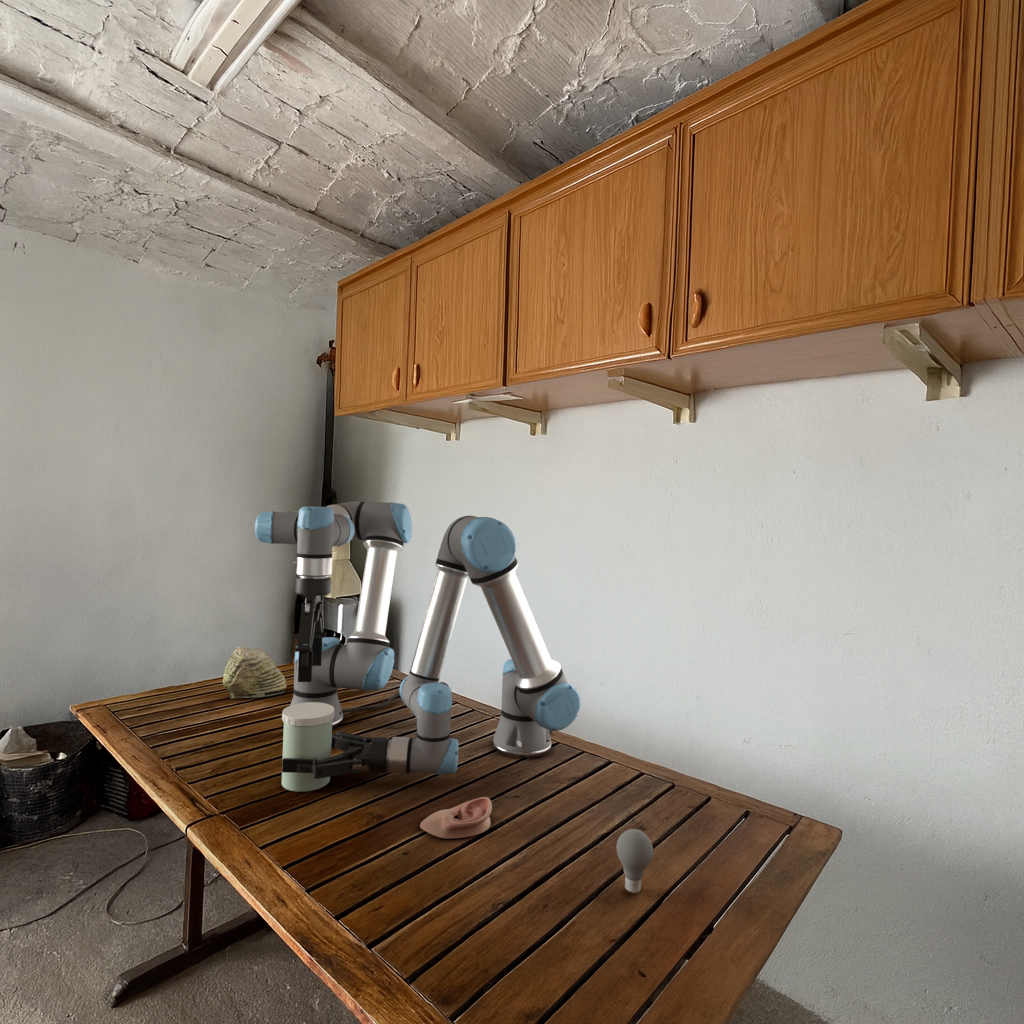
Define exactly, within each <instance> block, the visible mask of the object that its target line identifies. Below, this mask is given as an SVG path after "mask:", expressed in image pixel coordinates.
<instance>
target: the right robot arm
mask: <svg viewBox="0 0 1024 1024" xmlns="http://www.w3.org/2000/svg"><path fill="white" fill-rule="evenodd" d="M516 551H517V542H516V537H515V535H514V533H513V531H512V529H511V528H510V527H509V526H508V525H507V524H505V523H504V522H502V521H501V520H499V519H496V518H494V517H490V516H480V517H479V516H476V515H464V516H463V515H462V516H460V517H458V518H456V519H455V520H454V521H453V522H451V523H450V524H449V525H448V527H447V528H446V530H445V532H444V534H443V537H442V540H441V542H440V547H439V550H438V552H437V557H436V560H435V564H434V565H435V567H436V569H437V572H436V576H435V580H434V583H433V586H432V590H431V594H430V597H429V601H428V605H427V608H426V611H425V614H424V620H423V621H422V625H421V631H420V633H419V637H418V639H417V644H416V648H415V651H414V655H413V658H412V661H411V666H410V669H409V672H408V674H407V676H405V678H403V680H402V681H401V683H400V686H399V692H400V695H399V696H400V698H401V701H402V703H403V704H404V705H405V706H406V707H407V708H408V709H409V710H410V711H411V712H412V714H413V716H415V718H416V737H409V736H392V738H391V739H390V737H389V736H374V737H371V736H362V735H358V734H353V733H350V732H345V731H341V730H337V731H336V732H335V733H332V741H331V750H332V749H338V750H340V751H343V752H342V753H341V754H338V755H333V756H331V757H330V758H326V759H322V760H317V759H316V758H314V759H298V758H283V757H282V758H283V762H281V773H282V772H290V773H313V775H314V779H319V778H324V777H330V778H331V777H336V776H341V775H342V776H343V775H347V774H360V773H362V772H363V771H362V770H363V767H365V766H368V770H369V772H370V773H371V774H372V773H373V774H385V773H387V772H388V773H390V774H399V776H403V775H404V774H418V775H419V774H420V775H422V774H423V775H435V776H438V775H452V774H455V773H456V772H457V770H458V765H459V749H460V748H459V743H460V742H459V739H457V738H453V737H451V722H452V708H453V696H452V695H453V693H452V689H451V687H450V686H449V684H448V685H444V684H442V683H440V678H441V675H442V671H443V668H444V667H443V666H444V663H445V660H446V656H447V652H448V650H449V646H450V642H451V639H452V635H453V632H454V627H455V624H456V621H457V618H458V613H459V610H460V607H461V603H462V600H463V596H464V592H465V589H466V585H467V582H468V579H469V580H470V582H471V584H472V585H474V586H477V587H480V590H481V591H482V593H483V596H484V598H485V601H486V602H487V605H488V607H489V609H490V612H491V614H492V616H493V619H494V621H495V624H496V627H497V628H498V630H499V633H500V635H501V637H502V640H503V642H504V645H505V647H506V650H507V652H508V654H509V656H510V658H509V659H507V660H506V661H504V663H503V668H502V673H501V675H502V681H501V682H502V687H501V710H500V711H501V713H500V719H499V721H498V724H497V726H496V729H495V732H494V735H493V738H492V747H493V749H494V751H496V752H498V753H499V754H501V755H504V756H506V757H507V756H508V757H511V758H517V759H533V758H539V757H542V756H545V755H547V754H549V753H550V752H551V750H552V738H551V734H552V733H553V732H558V731H562V730H564V729H566V728H568V727H569V726H570V725H572V724H573V722H575V720H576V718H577V717H578V713H579V711H581V710H580V709H581V705H582V704H581V702H582V701H581V700H582V699H581V696H580V693H579V691H578V690H577V689H576V687H575V686H574V685H573V684H571V683H569V682H568V680H567V678H566V674H565V673H564V670H563V669H562V666H561V664H560V662H559V661H556V660H554V659H551V656H550V654H549V651H548V648H547V646H546V644H545V642H544V639H543V637H542V634H541V631H540V630H539V627H538V625H537V622H536V620H535V617H534V615H533V612H532V610H531V608H530V605H529V603H528V601H527V599H526V596H525V594H524V591H523V588H522V586H521V584H520V581H519V579H518V575H516V571H517V568H518V566H519V562H518V560H517V557H516V555H515V554H516Z"/></svg>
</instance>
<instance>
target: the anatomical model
mask: <svg viewBox="0 0 1024 1024" xmlns="http://www.w3.org/2000/svg"><path fill="white" fill-rule="evenodd" d="M492 804H493V803H492V800H491V799H490V798H489V797H487V796H482V797H478V798H474V799H471V800H467V801H465V802H463V803H460V804H459V805H458V804H457V805H456V806H454V807H451V808H446V809H441V810H437V811H435V812H433V813H431V814H430V815H428V816H427V817H426V818H424V819H423V820H422V821H421V822H420V824H419V827H420V829H421V830H423V831H424V832H425V833H428V834H430V835H432V836H434V837H437V838H441V839H446V840H448V839H451V840H453V839H461V838H462V839H463V838H468V837H469V838H470V837H473V836H477V835H480V834H482V833H484V832H486V831H488V829H490V827H491V817H490V816H491V814H492V811H493V805H492Z"/></svg>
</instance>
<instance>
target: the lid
mask: <svg viewBox="0 0 1024 1024" xmlns="http://www.w3.org/2000/svg"><path fill="white" fill-rule="evenodd" d="M334 716H335V711H334V707H333V706H332V705H329V704H326V703H319V702H307V703H299V704H294V705H291V706H290V705H289V706H286V707H285V708H283V710H282V715H281V721H282V722H283V724H284V723H286V724H288V725H292V726H303V727H304V726H316V725H321V724H324V723H327V722H329V721H331V720H332V719H333V718H334Z"/></svg>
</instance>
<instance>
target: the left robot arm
mask: <svg viewBox="0 0 1024 1024" xmlns="http://www.w3.org/2000/svg"><path fill="white" fill-rule="evenodd" d="M412 522H413V521H412V516H411V512H410V509H409V508H408V506H407V505H406V504H404V503H399V502H393V501H391V502H383V501H363V500H361V501H360V500H355V501H348V502H342V503H341V502H340V503H336V504H329V505H326V506H306V505H305V506H302V507H300V508H299V509H298V510H297V511H296V510H294V511H293V510H292V511H274V510H273V511H262V512H260V513H259V514H258V515H257V517H256V519H255V522H254V535H255V538H256V539H257V540H258V541H259V542H260V543H265V544H271V545H273V544H276V545H277V544H278V545H279V544H280V545H297V546H296V548H297V549H296V560H294V561H293V565H294V566H296V568H295V569H296V571H295V573H296V575H297V577H296V578H295V589H294V591H295V594H296V595H298V596H303V597H305V599H304V602H302V603H301V605H300V608H301V609H300V620H299V630H298V636H297V637H298V638H297V645H296V646H295V647H294V653H295V654H294V659H293V661H294V670H293V671H294V672H293V695H292V696H293V697H292V699H291V702H290V704H289V706H291V705H294V704H299V703H307V702H319V703H326V704H329V705H332V706H333V707H334V711H335V716H334V718H333V719H332V730H333V729H335V728H337V727H339V726H340V725H342V723H343V722H344V714H343V713H348V712H357V711H367V710H374V709H380V708H383V707H385V706H387V705H389V704H390V703H391V702H392V701H393V700H394V699H396V698H397V697H399V696H400V691H398V692H397V693H395V694H394V695H392V696H391V697H389V698H388V699H387V701H385V702H383V703H381V704H377V705H369V706H368V705H367V706H358V707H351V708H350V707H349V708H342V706H341V702H340V699H339V695H338V689H348V690H360V691H366V692H368V691H380V690H382V689H384V687H385V686H386V685H387V684H388V682H389V680H390V678H391V675H392V673H393V670H394V664H395V651H394V649H393V648H391V647H390V640H389V639H388V638H387V637H386V632H387V626H388V618H389V611H390V606H391V605H390V604H391V597H392V590H393V583H394V578H395V577H394V576H395V570H396V565H397V563H396V562H397V558H398V554H400V553H401V552H402V551H404V546H405V545H404V544H408V543H410V542H411V539H412V535H413V523H412ZM352 540H355V541H363V542H362V544H363V546H364V548H365V549H366V552H367V553H366V558H365V564H364V570H363V577H362V582H361V587H360V594H359V601H358V607H357V612H356V618H355V625H354V631H353V632H352V633H351V634H350V635H349V636H348V637H347V640H346V644H341V641H340V639H339V638H338V637H334V636H326V635H327V631H325V622H324V621H325V620H324V618H325V617H324V598H325V597H324V596H328V595H330V594H331V593H332V578H331V577H330V576H332V574H333V547H337V548H338V547H342V546H344V545H347V544H348V543H349V542H351V541H352ZM439 683H442V684H444V685H448V686H449V684H448V683H447V682H444V681H439Z"/></svg>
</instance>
